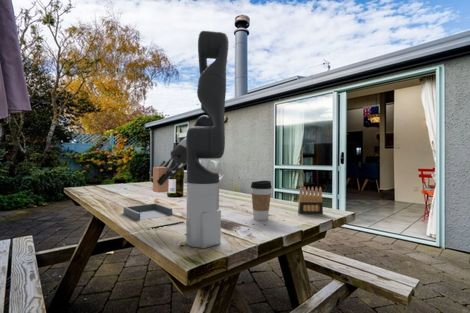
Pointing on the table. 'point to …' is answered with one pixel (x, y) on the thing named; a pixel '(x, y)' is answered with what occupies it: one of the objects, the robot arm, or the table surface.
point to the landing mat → (167, 225)
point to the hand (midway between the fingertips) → (155, 182)
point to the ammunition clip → (310, 201)
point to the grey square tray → (147, 211)
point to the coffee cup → (261, 199)
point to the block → (156, 175)
